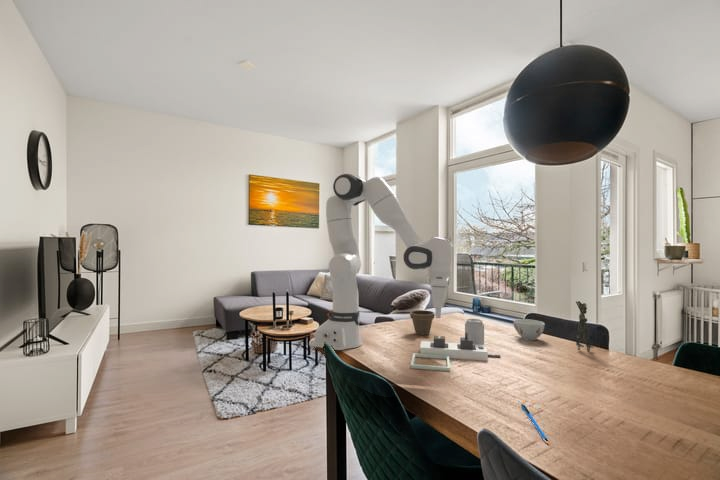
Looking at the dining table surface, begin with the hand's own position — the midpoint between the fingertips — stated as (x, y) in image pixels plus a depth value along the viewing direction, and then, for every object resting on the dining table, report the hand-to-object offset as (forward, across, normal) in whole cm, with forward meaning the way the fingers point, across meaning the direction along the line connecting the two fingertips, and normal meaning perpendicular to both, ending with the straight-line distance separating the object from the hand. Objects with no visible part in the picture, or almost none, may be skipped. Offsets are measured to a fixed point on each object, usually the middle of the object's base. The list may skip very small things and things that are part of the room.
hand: (438, 315), depth 136 cm
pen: (+15, +47, +23) cm, 55 cm away
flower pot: (+16, -33, -7) cm, 37 cm away
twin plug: (+14, 0, +11) cm, 18 cm away
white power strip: (+15, 0, +8) cm, 17 cm away
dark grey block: (+14, 0, +1) cm, 14 cm away
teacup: (+14, -35, +40) cm, 55 cm away
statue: (+14, -19, +58) cm, 62 cm away
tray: (+15, +12, -2) cm, 20 cm away
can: (+15, -12, +15) cm, 24 cm away
